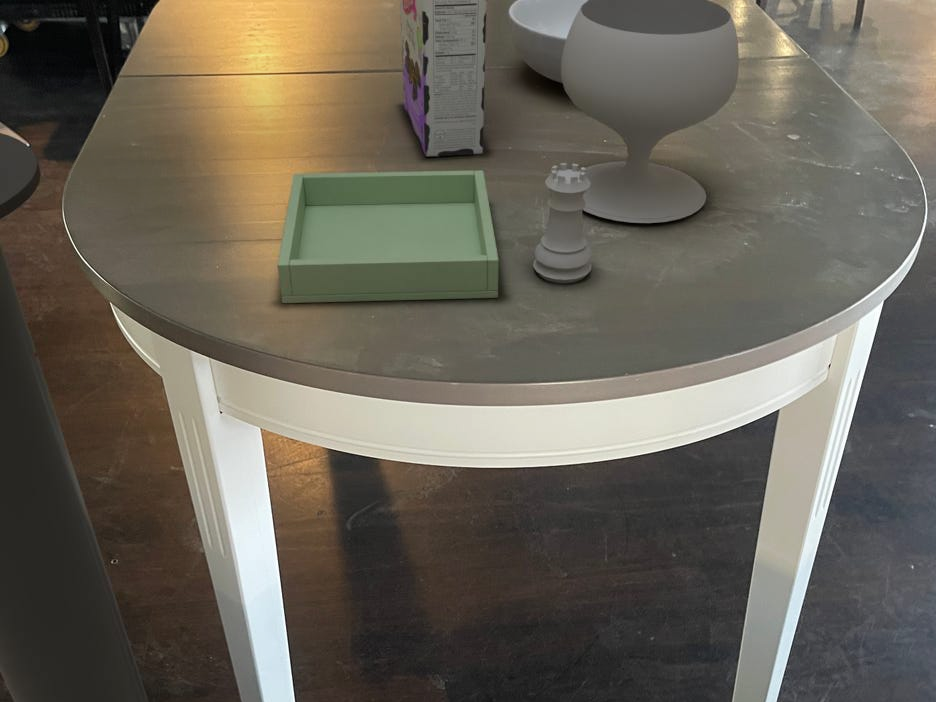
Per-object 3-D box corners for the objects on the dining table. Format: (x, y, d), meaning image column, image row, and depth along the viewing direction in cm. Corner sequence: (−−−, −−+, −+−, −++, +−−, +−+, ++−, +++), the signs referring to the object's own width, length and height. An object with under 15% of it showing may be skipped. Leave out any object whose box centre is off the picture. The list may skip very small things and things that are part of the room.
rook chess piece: (567, 291, 75) (575, 189, 70) (520, 272, 77) (524, 171, 72) (602, 269, 77) (612, 169, 72) (556, 251, 80) (562, 152, 74)
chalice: (565, 235, 82) (579, 41, 72) (543, 164, 92) (552, -12, 83) (735, 230, 83) (771, 38, 73) (694, 161, 93) (720, -14, 84)
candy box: (401, 105, 104) (394, -74, 93) (458, 102, 105) (457, -76, 94) (423, 159, 93) (419, -37, 83) (486, 154, 94) (489, -39, 84)
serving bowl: (733, 75, 112) (744, 9, 107) (627, 129, 99) (635, 56, 95) (580, 36, 122) (585, -26, 117) (467, 80, 110) (467, 13, 105)
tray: (282, 303, 73) (277, 264, 71) (297, 208, 85) (293, 173, 83) (497, 298, 74) (498, 259, 72) (482, 205, 86) (483, 169, 84)
